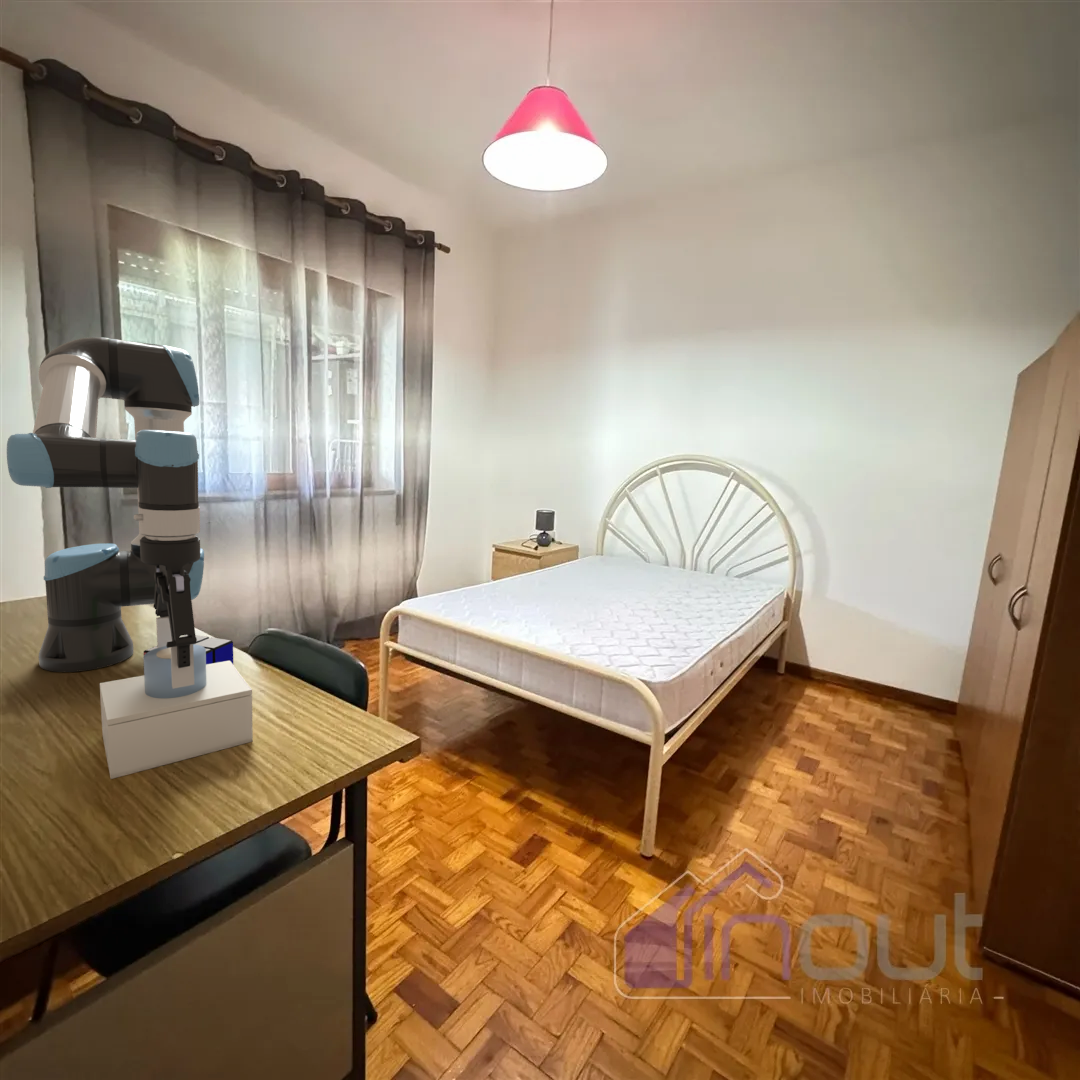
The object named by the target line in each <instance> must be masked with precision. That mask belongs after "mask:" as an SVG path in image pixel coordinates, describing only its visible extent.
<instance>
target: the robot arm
mask: <svg viewBox="0 0 1080 1080" xmlns="http://www.w3.org/2000/svg"><path fill="white" fill-rule="evenodd" d="M39 365H40V366H39V369H38V380H39V383H40V384H41V386H42V391H41V396H40V398H39V399H40V400H39V402H38V403H39V404H38V409H37V413H36V417H35V421H34V427H33V429H32V432H29V433H15V434H11V435H10V436H9V437H8V438H7V442H6V464H7V470H8V475H9V477H10V479H11V481H12V482H13V483H15V484H16V485H19V486H21V487H22V486H23V487H24V486H25V487H26V486H27V487H41V488H45V489H51V488H110V489H113V488H115V489H137V509H138V513H137V514H134V515H133V520H134V521H137V522H138V528H139V530H138V531H139V532H138V535H137V536H136V537H134V539H133V540H131V541H130V550H120V548H119V547H118V545H117V544H116V543H111V542H109V543H91V544H83V545H78V546H72V547H67V548H64V549H60V550H56V551H55V552H52V553H50V554H49V555H48V556H47V557H46V558H45V561H44V576H43V580H44V583H45V584H44V585H45V594H46V608H47V609H46V610H47V621H48V624H47V625H48V626H47V629H46V633H45V636H44V638H43V640H42V643H41V647H40V650H39V653H38V662H39V664H38V665H39V668H41V669H43V670H45V671H49V672H55V673H72V672H82V671H90V670H91V671H92V670H96V669H100V668H101V669H102V668H105V667H106V668H107V667H109V666H113V665H116V664H118V663H120V662H123V661H126V660H127V659H129V658H130V657H132V656H133V654H134V642H133V639H132V638H131V635H130V633H129V631H128V629H127V627H126V624H125V623H124V620H123V619H122V618H123V617H122V608H123V607H132V606H143V605H144V606H145V605H146V606H147V605H153V608H154V610H155V612H154V613H155V615H156V619H155V620H156V643H157V644H156V646H157V648H160V647H164V646H167V648H170V647H171V674H172V688H173V689H174V688H179V687H184V686H190V685H194V653H193V644H196V641H197V638H196V636H195V635H196V630H195V629H196V628H195V620H194V619H195V618H194V610H193V602H192V600H194V599H196V598H197V597H198V596H199V594H200V592H201V588H202V585H203V576H204V569H205V550H204V549H203V548H201V538H200V537H199V536H198V534H199V533H200V532H201V519H200V518H201V517H200V515H201V514H200V513H201V512H200V503H199V459H200V454H199V451H198V441H197V437H196V435H195V434H193V433H191V432H189V431H188V432H187V431H185V426H184V425H185V421H186V420H187V419H188V418H190V417H191V416H192V415H193V414H192V413H193V412H192V407H194V408H195V407H199V406H200V394H199V384H198V378H197V373H196V368H195V365H194V361H193V358H192V356H191V354H190V353H189V352H188V351H187V350H185V349H184V348H183V349H182V348H178V347H173V346H169V345H165V344H156V343H155V344H154V343H146V342H139V341H133V340H132V341H131V340H125V339H124V340H123V339H117V338H110V337H103V336H88V337H82V338H77V339H73V340H70V341H68V342H65V343H62V344H60V345H58V346H57V347H55V348H53V349H52V350H50V352H48V353H47V354H46V355H45V356H44V357H43V359H42V361H41V362H40V364H39ZM101 398H103V399H113V400H120V401H124V410H125V411H126V412H127V413H128V414H129V415H130V416H132V417H133V420H134V424H133V425H134V439H126V438H125V439H124V438H123V439H122V438H120V439H119V438H108V437H107V438H106V437H97V431H98V430H97V428H98V416H99V415H98V413H99V400H100V399H101ZM184 635H187V636H185V637H182V636H184Z"/></svg>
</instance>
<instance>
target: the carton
mask: <svg viewBox="0 0 1080 1080" xmlns="http://www.w3.org/2000/svg"><path fill="white" fill-rule="evenodd" d="M99 695H100V699H99V700H100V714H101V715H100V716H101V729H102V732H101V733H102V739H103V745H104V751H105V756H106V762H107V767H108V772H109V778H110V780H112V779H116V778H120V777H123V776H127V775H131V774H135V773H140V772H143V771H147V770H151V769H154V768H159V767H161V766H166V765H169V764H173V763H176V762H180V761H185V760H188V759H192V758H195V757H200V756H202V755H206V754H210V753H215V752H217V751H221V750H222V751H223V750H225V749H229V748H233V747H238V746H240V745H244V744H248V743H252V742H253V741H254V740H253V735H254V734H253V694H252V695H247V696H243V697H238V698H233V699H229V700H224V701H219V702H215V703H210V704H205V705H201V706H196V707H191V708H187V709H182V710H177V711H173V712H168V713H164V714H159V715H154V716H150V717H145V718H140V719H136V720H131V721H126V722H122V723H117V724H112V725H107V721H106V716H105V711H104V706H103V701H102V696H101V691H100V690H99Z"/></svg>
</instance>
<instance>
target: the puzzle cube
mask: <svg viewBox="0 0 1080 1080" xmlns="http://www.w3.org/2000/svg"><path fill="white" fill-rule="evenodd" d="M185 636H187V635H183V636H181V637H185ZM195 636H196V638H197V641H196V644H194V645H200V646H203V647H204V648H205V649H206V665H207V664H212V663H218V662H224V661H231V662H232V664H233V665H234V642H233V640H232V639H231V640H230V639H224V638H218V637H211V636H210V637H209V636H204V635H199V634H195ZM156 648H157V645H155V646H152V647H150V648H147V649H145V650H143V656H144V655H145V654H146V653H147V652H149V651H151V650H154V649H156Z"/></svg>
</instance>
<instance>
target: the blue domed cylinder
mask: <svg viewBox="0 0 1080 1080" xmlns="http://www.w3.org/2000/svg"><path fill="white" fill-rule="evenodd" d="M193 653H194V685H190V686H184V687H179V688H174V689H173V688H172V674H171V647H170V648H167V646H164V647H160V648H156V649H154V650H151V651H149V652H147V653H146V654H145V655H144V654H143V675H144V680H145V693H146V695H148V696H150V697H153V698H175V697H181V696H186V695H189V694H192V693H195V692H197V691H199V690H201V689H203V688H204V687H205V686H206V683H207V682H206V649H205V648H204V647H203V646H200V645H194V644H193Z"/></svg>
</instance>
